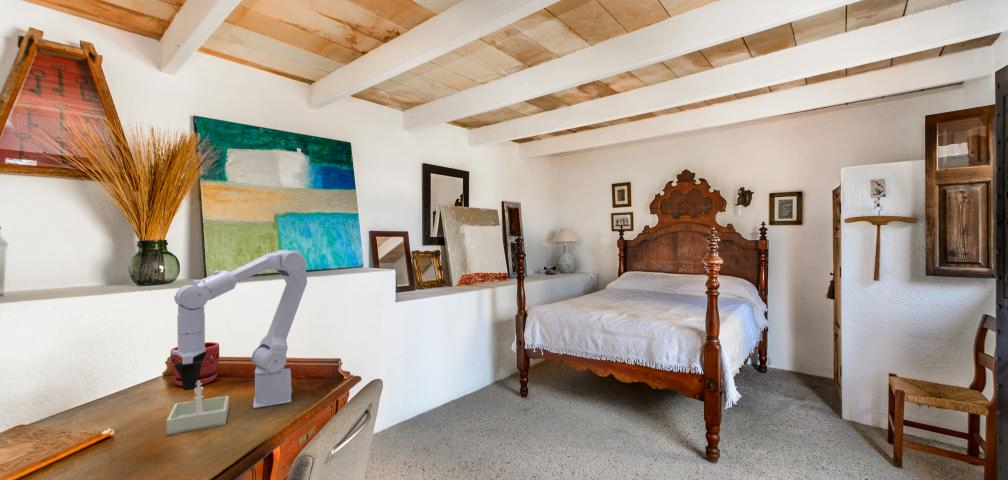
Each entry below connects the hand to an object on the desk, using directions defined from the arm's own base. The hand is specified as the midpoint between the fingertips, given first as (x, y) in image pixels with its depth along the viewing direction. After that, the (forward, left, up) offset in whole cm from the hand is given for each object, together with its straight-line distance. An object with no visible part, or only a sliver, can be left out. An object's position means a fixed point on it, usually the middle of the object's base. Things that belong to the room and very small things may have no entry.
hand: (191, 384), depth 114 cm
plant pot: (+3, -37, -10) cm, 39 cm away
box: (-2, 0, -10) cm, 10 cm away
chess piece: (-2, 0, -9) cm, 9 cm away
